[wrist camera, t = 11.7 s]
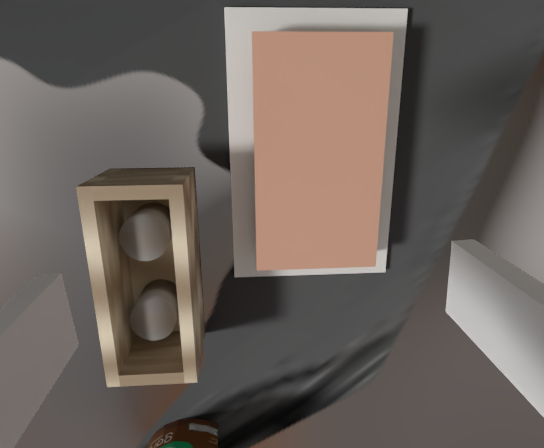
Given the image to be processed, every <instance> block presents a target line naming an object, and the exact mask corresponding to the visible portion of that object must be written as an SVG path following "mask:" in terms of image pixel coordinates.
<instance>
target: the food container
mask: <svg viewBox="0 0 544 448" xmlns="http://www.w3.org/2000/svg"><path fill="white" fill-rule="evenodd" d="M147 448H218V424H216V423H213V422H211V421H208V420H201V419H195V418H191V419H182V420H177V421H174V422H172V423H169V424H166V425H165V426H163V427H162V428H160V429H159V430H158V431H157V432H156V433H155V434H154V435H153V436H152V438H151V440H150V442H149V445H148V447H147Z"/></svg>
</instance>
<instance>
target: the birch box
mask: <svg viewBox="0 0 544 448" xmlns="http://www.w3.org/2000/svg"><path fill="white" fill-rule="evenodd" d="M76 189H77V195H78V203H79V209H80V215H81V222H82V228H83V235H84V240H85V248H86V254H87V261H88V267H89V273H90V280H91V286H92V293H93V299H94V305H95V312H96V318H97V324H98V331H99V338H100V344H101V351H102V357H103V364H104V369H105V377H106V383H107V387H119V386H139V385H159V384H177V383H197V381H198V375H199V369H200V363H201V357H202V350H203V344H204V338H205V322H204V308H203V291H202V277H201V259H200V244H199V228H198V214H197V197H196V181H195V168H194V167H189V168H136V169H135V168H133V169H132V168H130V169H108V170H106V171H104V172H103V173H101V174H99V175H97V176H95V177H93V178H91V179H90V180H88V181H86V182H84V183H82V184H80V185H78V186H77V187H76Z"/></svg>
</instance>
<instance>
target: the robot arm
mask: <svg viewBox="0 0 544 448" xmlns="http://www.w3.org/2000/svg"><path fill="white" fill-rule="evenodd" d="M446 312H447V314H448V315H449V316H450V317H451V318H452V319H453V320H454V321H455V322H456V323H457V324H458V325H459V327H461V329H462V330H463V331H464V332H465V333H466V334H467V335H468V336H469V337H470V338H471V339H472V341H473V342H474V343H475V344H477V346H478V347H479V348H480V349H481V350H482V351H483V352H484V353H485V355H486V356H487V357H488V358H489V359H490V360H491V361H492V362H493V363H494V364H495V365H496V366H497V368H499V370H500V371H501V372H502V373H503V374H504V375H505V376H506V377H507V378H508V379H509V380H510V381H511V383H513V385H515V387H516V388H517V389H518V390H519V391H520V392H521V393H522V394H523V395H524V397H525V398H526V399H527V400H528V401H529V402H530V403H531V404H532V405H533V406H534V407H535V408H536V410H537V411H538V412H539V413H540V414H541V415H542V416H543V417H544V284H543V283H541V282H540V281H538V280H537V279H535V278H533V277H532V276H530V275H529V274H527V273H525V272H524V271H522V270H521V269H519V268H518V267H516V266H515V265H513V264H511V263H510V262H508V261H507V260H505V259H504V258H502V257H500V256H499V255H497V254H496V253H494V252H493V251H491V250H489V249H488V248H486V247H485V246H483V245H482V244H480V243H479V242H477V241H475V240H474V239H472V240H460V241H452V247H451V259H450V270H449V280H448V291H447V302H446ZM78 346H79V344H78V340H77V336H76V332H75V328H74V324H73V320H72V316H71V312H70V307H69V304H68V299H67V295H66V291H65V288H64V283H63V279H62V276H61V273H59V274H46V275H37V276H36V277H35V278H33V279H32V280H31V281H30V282H29V283H28V284H27V285H26V286H25V287H23V289H21V291H19V292H18V293H17V294H16V295H15V296H14V297H12V298H11V299H10V300H9V301H8V302H7V303H6V304H5V305H4V306H3V307H2V308H0V448H14V446H15V445H16V443H17V442H18V440H19V438H20V437H21V435H22V434H23V432H24V430H25V429H26V427H27V426H28V424H29V423H30V421H31V420H32V418H33V416H34V415H35V413H36V412H37V410H38V408H39V407H40V405H41V404H42V402H43V400H44V399H45V397H46V396H47V394H48V393H49V391H50V390H51V388H52V386H53V385H54V383H55V382H56V380H57V379H58V377H59V375H60V374H61V372H62V371H63V369H64V368H65V366H66V364H67V363H68V361H69V360H70V358H71V357H72V355H73V353H74V352H75V350H76V349H77V347H78Z"/></svg>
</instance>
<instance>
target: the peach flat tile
mask: <svg viewBox="0 0 544 448" xmlns="http://www.w3.org/2000/svg"><path fill="white" fill-rule="evenodd" d="M393 35H394V32H295V31H252V80H253V131H254V183H255V234H256V267H257V271H259V270H289V269H319V268H349V267H376V255H377V242H378V229H379V216H380V203H381V190H382V177H383V164H384V151H385V139H386V126H387V113H388V100H389V87H390V74H391V61H392V48H393Z"/></svg>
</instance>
